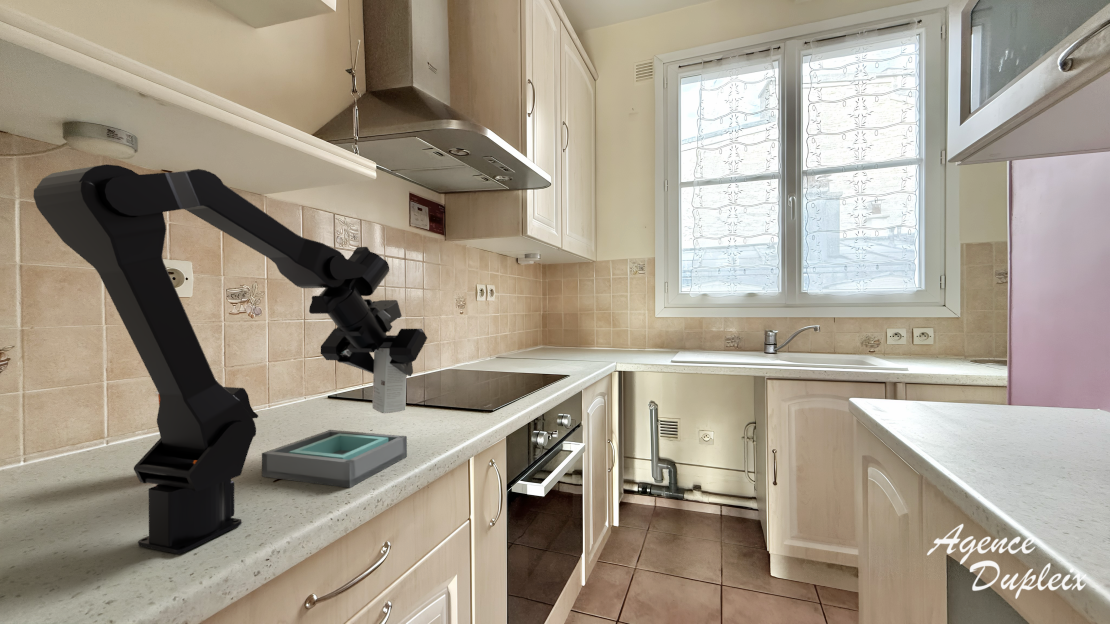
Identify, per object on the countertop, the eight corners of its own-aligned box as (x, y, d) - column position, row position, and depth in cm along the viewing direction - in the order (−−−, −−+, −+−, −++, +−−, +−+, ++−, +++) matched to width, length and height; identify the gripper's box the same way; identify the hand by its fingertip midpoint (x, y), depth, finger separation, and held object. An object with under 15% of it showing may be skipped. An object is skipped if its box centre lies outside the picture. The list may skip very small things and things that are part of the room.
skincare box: (371, 409, 79) (371, 345, 79) (394, 405, 82) (394, 344, 82) (383, 414, 74) (383, 346, 75) (408, 410, 78) (408, 345, 78)
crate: (349, 487, 59) (349, 462, 59) (262, 476, 63) (261, 453, 63) (406, 456, 71) (406, 436, 71) (330, 449, 75) (330, 429, 75)
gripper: (421, 282, 72) (453, 342, 83) (333, 284, 77) (374, 341, 88) (391, 328, 65) (431, 388, 75) (296, 328, 70) (345, 384, 80)
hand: (394, 373), depth 80 cm, fingers closed on skincare box, 7 cm apart
